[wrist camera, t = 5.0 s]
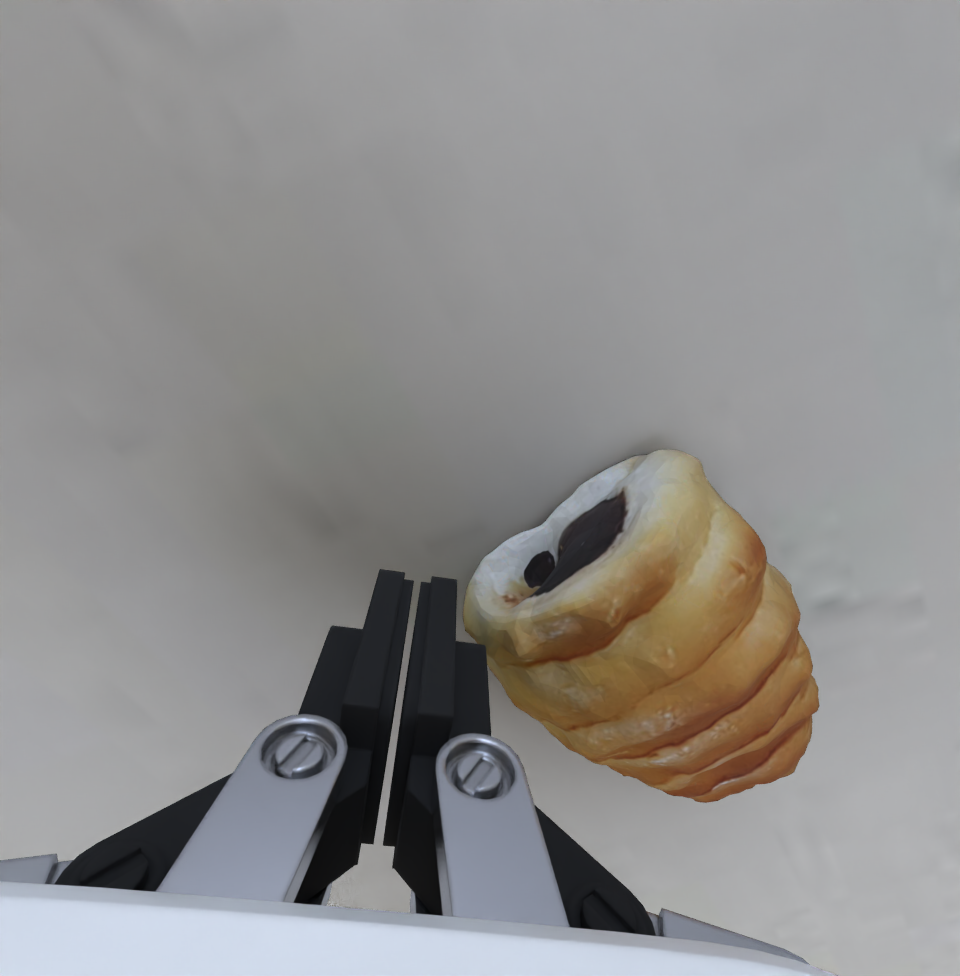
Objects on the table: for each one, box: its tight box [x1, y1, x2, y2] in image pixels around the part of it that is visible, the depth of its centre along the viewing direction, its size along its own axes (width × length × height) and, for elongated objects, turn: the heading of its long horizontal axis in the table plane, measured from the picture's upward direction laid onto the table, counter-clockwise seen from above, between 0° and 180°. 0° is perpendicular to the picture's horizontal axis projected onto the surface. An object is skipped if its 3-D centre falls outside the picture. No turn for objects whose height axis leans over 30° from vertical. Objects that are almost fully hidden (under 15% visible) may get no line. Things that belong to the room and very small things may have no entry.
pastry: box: [463, 449, 819, 803], centre depth 13 cm, size 9×7×4 cm
